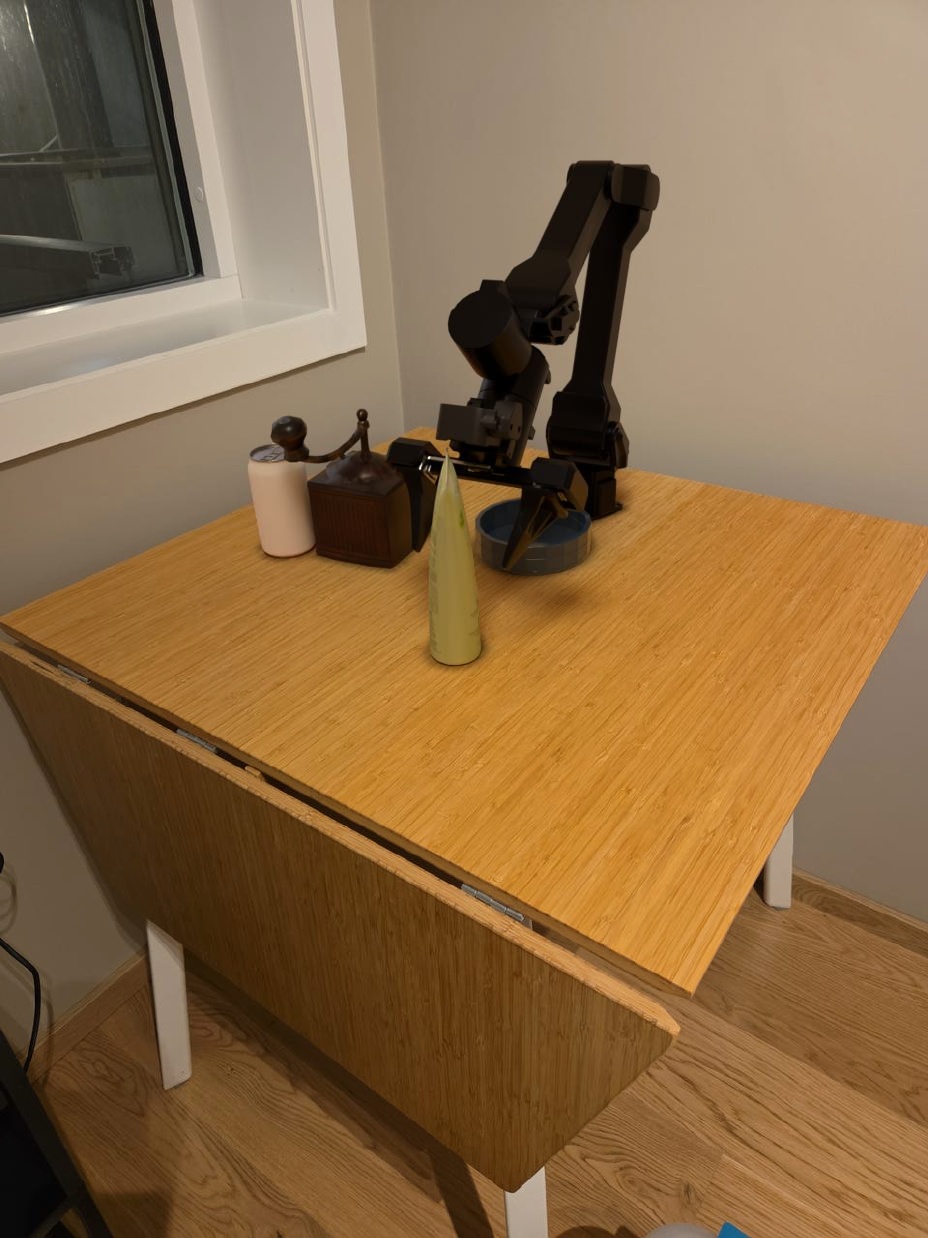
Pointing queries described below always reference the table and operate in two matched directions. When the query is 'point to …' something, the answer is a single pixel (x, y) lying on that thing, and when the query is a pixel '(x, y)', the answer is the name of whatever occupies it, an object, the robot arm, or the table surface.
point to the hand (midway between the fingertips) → (459, 559)
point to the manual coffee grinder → (352, 498)
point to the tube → (452, 577)
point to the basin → (549, 550)
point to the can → (281, 502)
